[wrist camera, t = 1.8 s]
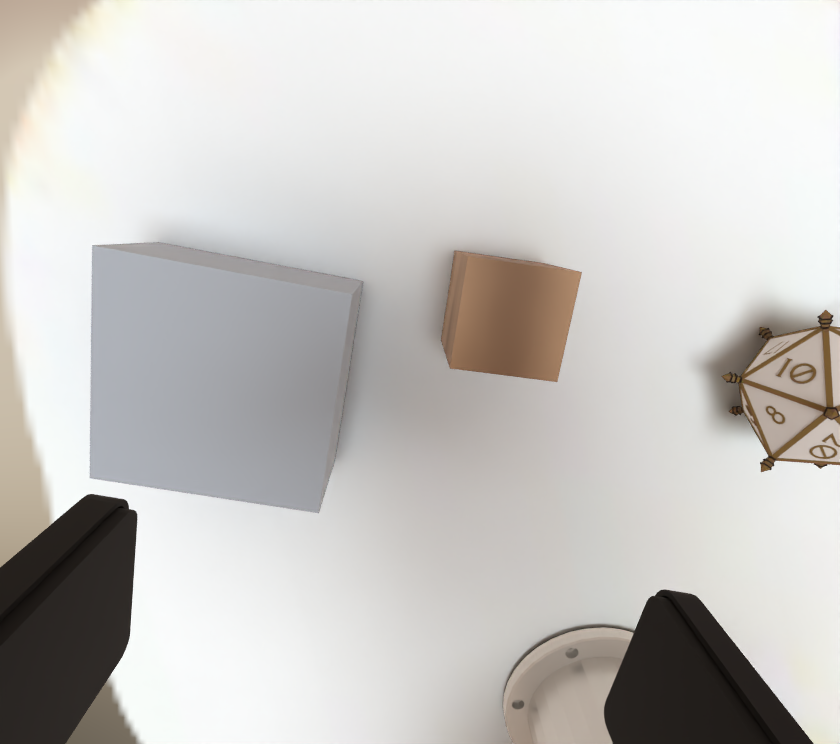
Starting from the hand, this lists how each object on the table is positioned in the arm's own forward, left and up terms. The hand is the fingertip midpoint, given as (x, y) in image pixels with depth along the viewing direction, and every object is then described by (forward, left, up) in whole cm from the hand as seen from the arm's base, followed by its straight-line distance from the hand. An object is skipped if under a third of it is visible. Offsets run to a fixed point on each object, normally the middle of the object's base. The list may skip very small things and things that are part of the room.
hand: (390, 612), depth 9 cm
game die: (-22, -1, -20) cm, 30 cm away
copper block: (-5, -3, -20) cm, 21 cm away
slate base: (+8, +2, -20) cm, 22 cm away
